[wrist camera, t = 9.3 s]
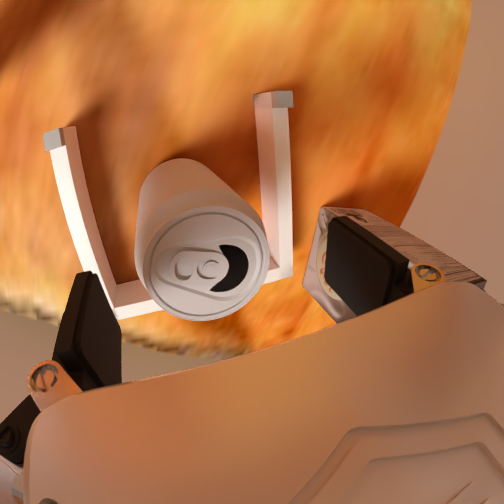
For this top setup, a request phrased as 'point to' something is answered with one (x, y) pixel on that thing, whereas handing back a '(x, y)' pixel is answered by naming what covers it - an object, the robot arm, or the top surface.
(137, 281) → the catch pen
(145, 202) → the beverage can
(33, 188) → the top surface
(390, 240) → the coffee box
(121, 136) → the top surface
